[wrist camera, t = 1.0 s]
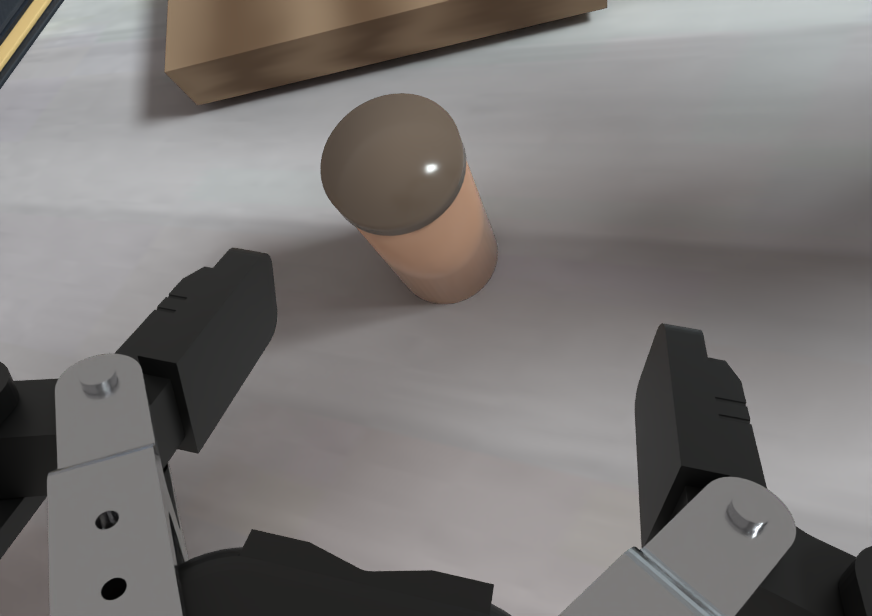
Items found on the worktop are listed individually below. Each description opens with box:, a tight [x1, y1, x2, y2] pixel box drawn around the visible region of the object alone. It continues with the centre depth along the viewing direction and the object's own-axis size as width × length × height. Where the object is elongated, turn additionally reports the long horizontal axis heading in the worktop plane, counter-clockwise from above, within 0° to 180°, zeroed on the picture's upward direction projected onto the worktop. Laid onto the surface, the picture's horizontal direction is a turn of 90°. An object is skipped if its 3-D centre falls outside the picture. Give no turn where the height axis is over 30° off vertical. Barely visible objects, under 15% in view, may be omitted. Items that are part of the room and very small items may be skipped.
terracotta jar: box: [321, 93, 498, 304], centre depth 29 cm, size 5×5×10 cm
